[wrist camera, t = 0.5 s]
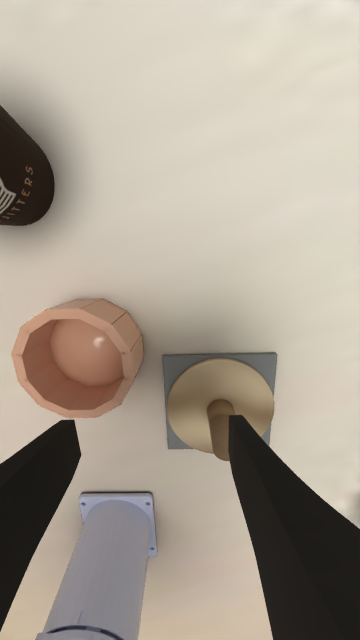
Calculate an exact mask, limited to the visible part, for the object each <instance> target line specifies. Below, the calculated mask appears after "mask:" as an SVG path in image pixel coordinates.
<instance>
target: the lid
mask: <svg viewBox="0 0 360 640" xmlns="http://www.w3.org/2000/svg"><path fill="white" fill-rule="evenodd" d="M273 414H274V398H273V395H272V392H271V390H270V387H269V386H268V384H267V383H266V381H265V380H264V378H263V377H262V376H261V375H260V373H259V372H258V371H256V370H255V369H254V368H253V367H251V366H249V365H248V364H246V363H244V362H241V361H238V360H235V359H229V358H212V359H207V360H204V361H201V362H198V363H196V364H194V365H192V366H190V367H189V368H187V369H186V370H185V371H183V372H182V373H181V374H180V375H179V376H178V377H177V379H176V380H175V382H174V383H173V385H172V387H171V389H170V392H169V396H168V403H167V415H168V420H169V423H170V425H171V428H172V429H173V431H174V432H175V434H176V435H177V436H178V437H179V438H180V439H181V440H182V441H183V442H184V443H186V444H187V445H189V446H190V447H192V448H194V449H197V450H199V451H203V452H206V453H214V454H215V455H216V457H218V458H219V459H221V460H224V461H230V458H229V453H228V433H229V415H243V416H244V417H245V418H246V420H247V421H248V422H249V423H250V425H251V426H252V427H253V428H254V430H255V431H256V432H257V433H258V434H259V436H260V437H261V436H262V435H263V434H264V433H265V432H266V430H267V429H268V427H269V425H270V423H271V421H272V418H273Z"/></svg>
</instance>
